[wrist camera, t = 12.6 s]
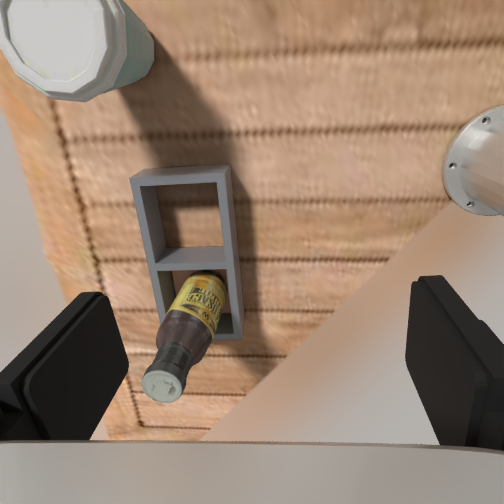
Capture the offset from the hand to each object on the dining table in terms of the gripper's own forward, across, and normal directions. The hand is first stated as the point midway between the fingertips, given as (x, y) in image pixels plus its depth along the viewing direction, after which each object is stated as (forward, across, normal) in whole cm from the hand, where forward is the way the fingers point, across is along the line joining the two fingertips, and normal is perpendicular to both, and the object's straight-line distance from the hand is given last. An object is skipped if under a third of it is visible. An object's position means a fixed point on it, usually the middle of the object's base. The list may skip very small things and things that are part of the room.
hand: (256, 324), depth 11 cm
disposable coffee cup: (+35, +16, -13) cm, 41 cm away
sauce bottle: (+35, +12, +18) cm, 41 cm away
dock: (+35, +12, +13) cm, 39 cm away
